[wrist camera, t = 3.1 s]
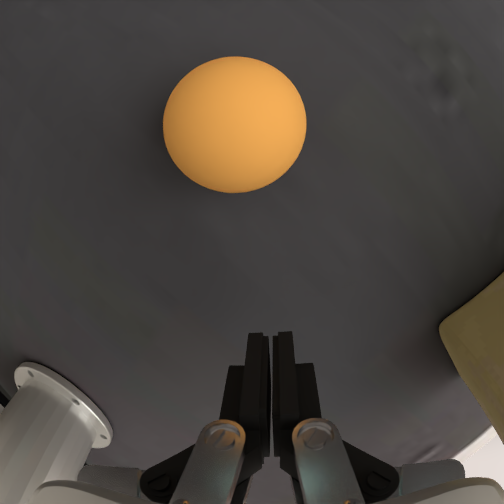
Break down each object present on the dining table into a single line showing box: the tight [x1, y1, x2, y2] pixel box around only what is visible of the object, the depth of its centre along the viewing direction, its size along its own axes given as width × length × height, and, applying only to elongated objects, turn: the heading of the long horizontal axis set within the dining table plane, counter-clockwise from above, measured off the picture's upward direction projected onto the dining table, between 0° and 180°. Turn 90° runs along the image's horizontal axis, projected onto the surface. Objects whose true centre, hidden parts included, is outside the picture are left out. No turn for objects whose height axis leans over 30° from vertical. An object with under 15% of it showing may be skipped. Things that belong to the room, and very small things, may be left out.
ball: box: [163, 57, 306, 193], centre depth 10 cm, size 6×6×6 cm
